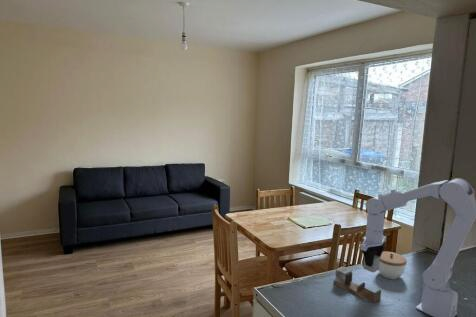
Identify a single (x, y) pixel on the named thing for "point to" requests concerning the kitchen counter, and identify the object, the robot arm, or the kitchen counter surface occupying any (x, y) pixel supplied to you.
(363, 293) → the rail
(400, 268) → the lidded jar
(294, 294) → the kitchen counter surface
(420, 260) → the kitchen counter surface
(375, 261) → the block
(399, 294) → the kitchen counter surface
